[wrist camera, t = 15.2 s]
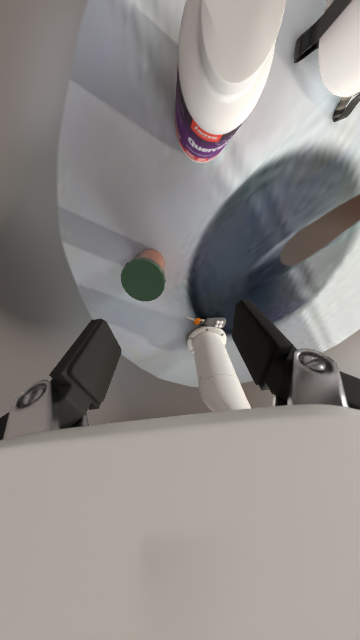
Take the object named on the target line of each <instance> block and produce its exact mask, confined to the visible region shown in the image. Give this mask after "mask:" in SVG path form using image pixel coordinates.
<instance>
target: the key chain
mask: <svg viewBox="0 0 360 640" xmlns="http://www.w3.org/2000/svg"><path fill="white" fill-rule="evenodd" d="M186 317H187V316H186ZM187 318H188V319H190V320H193V321H194V324H195V325H198V324H200V322H201V321H202V323H203V322H204V323H203V324H204V325H205V326H207V327H217V328H223V327H224V325H225V322H226V319H225V318H207V319H205V320H201V319H200V318H196V319H193V318H190V317H187ZM202 323H201V324H202Z"/></svg>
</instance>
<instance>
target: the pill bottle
mask: <svg viewBox="0 0 360 640" xmlns="http://www.w3.org/2000/svg"><path fill="white" fill-rule="evenodd" d="M285 4H286V0H187V1H186V4H185V8H184V12H183V16H182V22H181V28H180V36H179V46H178V68H177V87H176V105H175V128H176V134H177V138H178V141H179V144H180V147H181V149H182V150H183V152H184V153H185V155H186V156H187V157H188V158H189V159H191V160H192V161H194V162H198V163H205V162H208V161H210V160H212V159H213V158H215V157H216V156H217V155H218V154H219V153H220V152H221V150H222V149H223V148H224V146H225V145H226V144H227V143H228V141H229V140H230V139H231V137H232V136H233V135H234V134H235V132H236V131H237V130H238V128H239V127H240V126H241V124H242V123H243V122H244V121H245V119H246V118H247V117H248V115H249V114H250V113H251V111H252V110H253V108H254V107H255V105H256V103H257V101H258V99H259V98H260V95H261V93H262V91H263V89H264V86H265V84H266V81H267V78H268V75H269V72H270V68H271V64H272V60H273V55H274V49H275V43H276V38H277V35H278V32H279V29H280V26H281V22H282V18H283V14H284V9H285Z"/></svg>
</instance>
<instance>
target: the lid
mask: <svg viewBox="0 0 360 640" xmlns="http://www.w3.org/2000/svg"><path fill="white" fill-rule="evenodd" d="M165 281H166V280H165V275H164V272H163V270H162V268H161V267H160V265H159V264H157V263H156V262H155V261H153V259H152V260H151V259H149V258H145V257H139V258H134V259H133V260H131V261H130V262H129V263H127V264H126V266H125V267H124V269H123V271H122V274H121V282H122V285H123V288H124V289H125V291H126V292H127V293H128V294H129V295H130V296H131V297H133V298H135V299H137V300H140V301H152V300H154V299H156V298H158V297H159V296H160V295H161V294H162V292H163V290H164V286H165Z"/></svg>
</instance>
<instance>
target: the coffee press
mask: <svg viewBox="0 0 360 640" xmlns="http://www.w3.org/2000/svg"><path fill="white" fill-rule="evenodd" d="M317 48H319V68H320V74H321V77H322V80H323V83H324V85H325V86H326V88H327V89H328V90H329V91H330V92H331V93H332V94H334V95H336V96H340V97H342V99H341V101H340V103H339V104H338V106H337V108H336V110H335V112H334V115H333V121H334V122H336V121H339V120H341V119H344V118H346V117H348V116H349V114H350V113H351V112H352V110H353V109H354V108H355V106H356V105H357V104H358V102H359V101H360V94H359V93H360V0H327V3H326V7H325V11H324V14H323V15H322V16H321V17H320V18H319V19H318V20H317V21H316V22H315V23H314V24H313V25H312V26H311V27H310V28H309V29H308V30H307V31H306V32H305V33H303V34H302V35H301V36H300V37H299V38H298V40H297V41H296V47H295V57H294V63H297V62H299V61H301V60H302V59H303V58H305V57H306V56H307V55H309V54H310V53H311V52H313V51H314V50H316V49H317ZM357 94H359V95H357ZM354 95H357V96H356V97H355V98H354V99H353V100H352V101H351V102H350V103H349V104H348V102H349V100H350V99H351V97H352V96H354ZM347 104H348V106H347V107H346V105H347ZM345 107H346V108H345ZM344 109H345V110H344Z"/></svg>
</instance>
